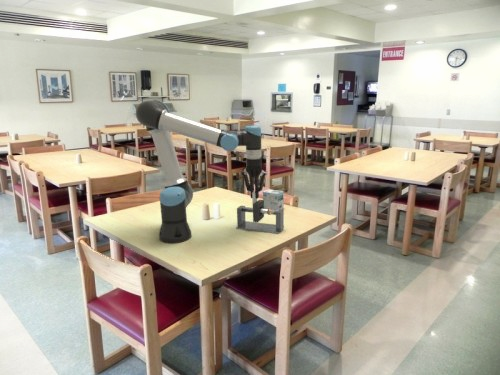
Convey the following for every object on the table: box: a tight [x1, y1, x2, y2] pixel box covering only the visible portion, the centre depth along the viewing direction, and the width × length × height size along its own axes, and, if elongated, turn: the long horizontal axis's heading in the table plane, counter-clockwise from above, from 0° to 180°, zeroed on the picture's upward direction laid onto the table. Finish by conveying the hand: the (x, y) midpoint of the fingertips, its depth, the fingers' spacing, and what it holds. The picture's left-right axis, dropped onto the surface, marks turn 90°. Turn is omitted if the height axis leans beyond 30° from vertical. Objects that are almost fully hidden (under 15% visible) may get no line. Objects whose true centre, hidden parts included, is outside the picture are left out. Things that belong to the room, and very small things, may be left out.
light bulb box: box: [262, 188, 285, 210], centre depth 218 cm, size 11×7×11 cm, turn 58°
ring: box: [252, 199, 265, 223], centre depth 186 cm, size 2×9×9 cm, turn 158°
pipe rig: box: [236, 205, 285, 235], centre depth 187 cm, size 23×10×10 cm, turn 68°
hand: (254, 204), depth 186 cm, fingers closed
